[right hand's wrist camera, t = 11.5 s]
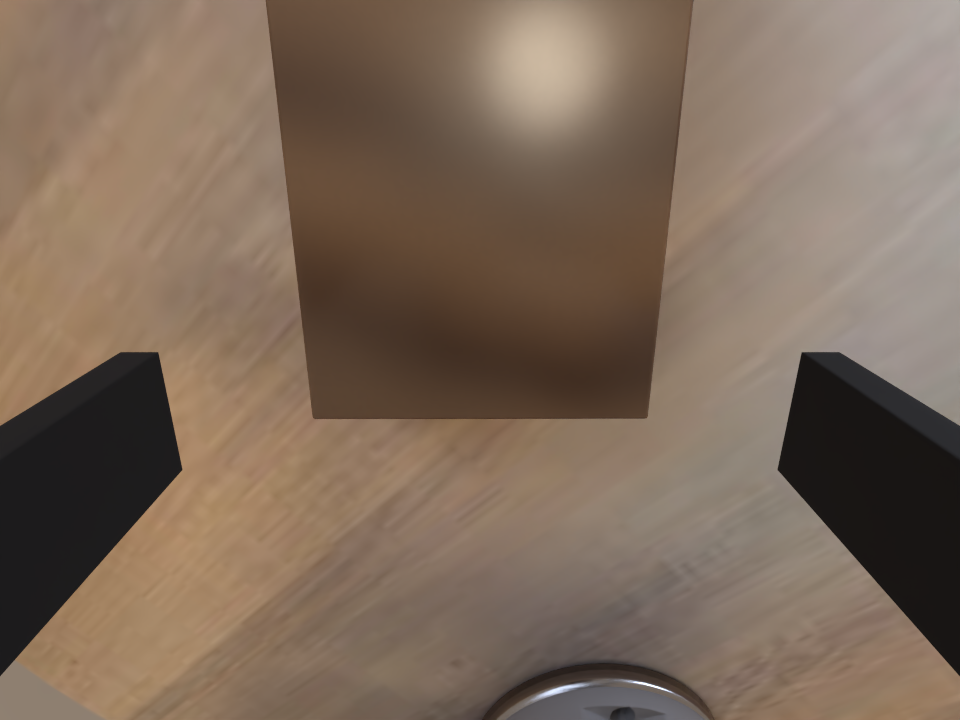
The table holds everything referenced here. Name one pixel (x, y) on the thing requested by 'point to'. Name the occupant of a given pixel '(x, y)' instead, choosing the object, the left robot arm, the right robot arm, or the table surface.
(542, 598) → the table surface
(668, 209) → the cabinet
